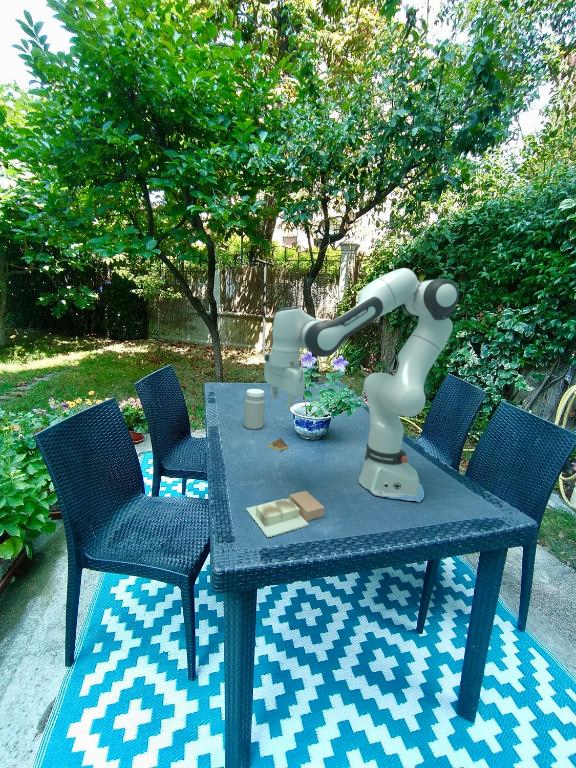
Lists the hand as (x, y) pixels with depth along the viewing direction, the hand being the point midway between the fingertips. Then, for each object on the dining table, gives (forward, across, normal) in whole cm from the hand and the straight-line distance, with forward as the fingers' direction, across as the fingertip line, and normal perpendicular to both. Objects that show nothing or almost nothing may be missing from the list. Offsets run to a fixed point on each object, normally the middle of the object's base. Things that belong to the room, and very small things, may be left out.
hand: (281, 402), depth 113 cm
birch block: (+27, -17, +3) cm, 32 cm away
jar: (+29, +52, -16) cm, 62 cm away
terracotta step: (+29, -17, -1) cm, 34 cm away
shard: (+30, +28, -15) cm, 44 cm away
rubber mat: (+29, -17, +9) cm, 35 cm away
